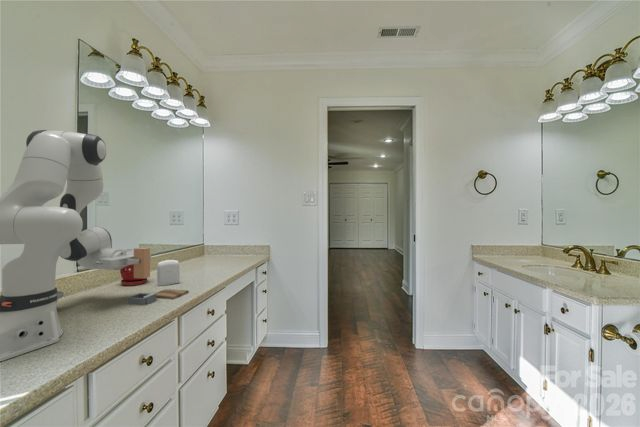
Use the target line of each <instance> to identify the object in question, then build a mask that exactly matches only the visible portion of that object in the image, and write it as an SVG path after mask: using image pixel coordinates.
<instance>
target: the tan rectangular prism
mask: <svg viewBox="0 0 640 427" xmlns="http://www.w3.org/2000/svg"><path fill="white" fill-rule="evenodd" d="M133 250H134V259H141V263H139V264H134V278H142V279H145V278H147V279H148V278H150V277H151V261H150V253H151V248H150V247H135V248H133Z"/></svg>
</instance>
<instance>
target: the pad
mask: <svg viewBox="0 0 640 427" xmlns="http://www.w3.org/2000/svg"><path fill="white" fill-rule="evenodd" d="M156 292H157V294H156V298H157V299H165V300H167V299H168V300H176V299H177V298H180V297H182V296H185V295H186V294H189V292H190V291H189V290H188V289H187V290H186V289H171V288H170V289H169V288H165V289H162V290H160V291H156Z"/></svg>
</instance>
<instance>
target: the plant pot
mask: <svg viewBox="0 0 640 427" xmlns="http://www.w3.org/2000/svg"><path fill="white" fill-rule="evenodd" d="M119 273H120V276H121V278H122V279H121V280H120V283H121V284H122V286H137V285H142V284H144V283H146V282H148V278H145V279H142V278H134V264H132V265H129V266H126V267H124V268H122V269H120V270H119Z"/></svg>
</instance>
